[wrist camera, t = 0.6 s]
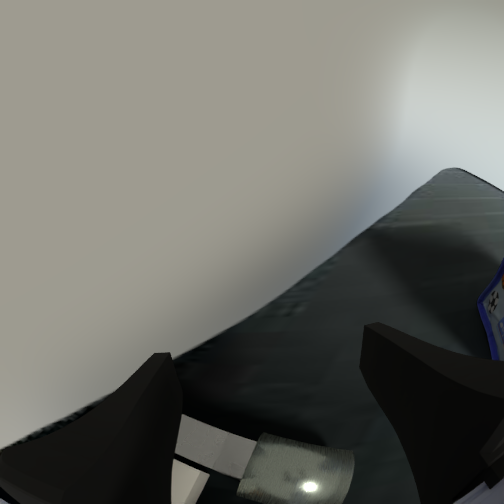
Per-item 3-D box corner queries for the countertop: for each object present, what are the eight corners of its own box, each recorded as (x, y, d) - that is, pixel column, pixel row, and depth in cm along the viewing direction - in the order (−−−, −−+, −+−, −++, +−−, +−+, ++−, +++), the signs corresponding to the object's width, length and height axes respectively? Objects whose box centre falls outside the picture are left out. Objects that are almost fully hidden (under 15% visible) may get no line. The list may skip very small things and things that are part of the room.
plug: (172, 545, 11) (157, 551, 8) (131, 523, 12) (110, 524, 9) (209, 474, 17) (200, 470, 15) (168, 456, 18) (153, 448, 16)
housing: (321, 513, 14) (338, 518, 10) (136, 448, 18) (107, 433, 15) (339, 456, 18) (360, 444, 14) (163, 401, 23) (142, 376, 19)
